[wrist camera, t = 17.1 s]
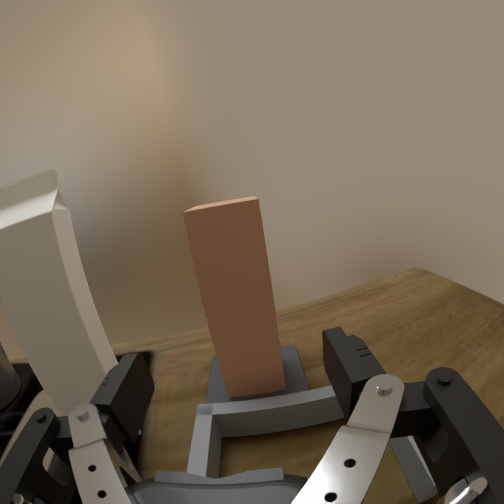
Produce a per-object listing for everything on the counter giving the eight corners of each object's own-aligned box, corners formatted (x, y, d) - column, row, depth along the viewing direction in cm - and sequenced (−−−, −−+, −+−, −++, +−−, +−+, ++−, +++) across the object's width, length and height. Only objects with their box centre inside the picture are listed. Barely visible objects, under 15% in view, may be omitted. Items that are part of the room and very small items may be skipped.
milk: (142, 435, 18) (45, 161, 12) (83, 446, 15) (-24, 188, 10) (134, 394, 23) (65, 172, 18) (84, 406, 21) (7, 192, 15)
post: (228, 397, 21) (183, 212, 17) (230, 364, 26) (195, 206, 22) (285, 389, 21) (258, 198, 17) (278, 357, 26) (254, 196, 22)
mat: (205, 419, 20) (203, 415, 19) (214, 360, 28) (212, 356, 28) (312, 405, 19) (312, 401, 19) (295, 348, 28) (294, 344, 28)
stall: (196, 545, 8) (177, 534, 7) (208, 427, 19) (198, 404, 18) (434, 495, 8) (452, 475, 7) (379, 396, 18) (384, 370, 18)
